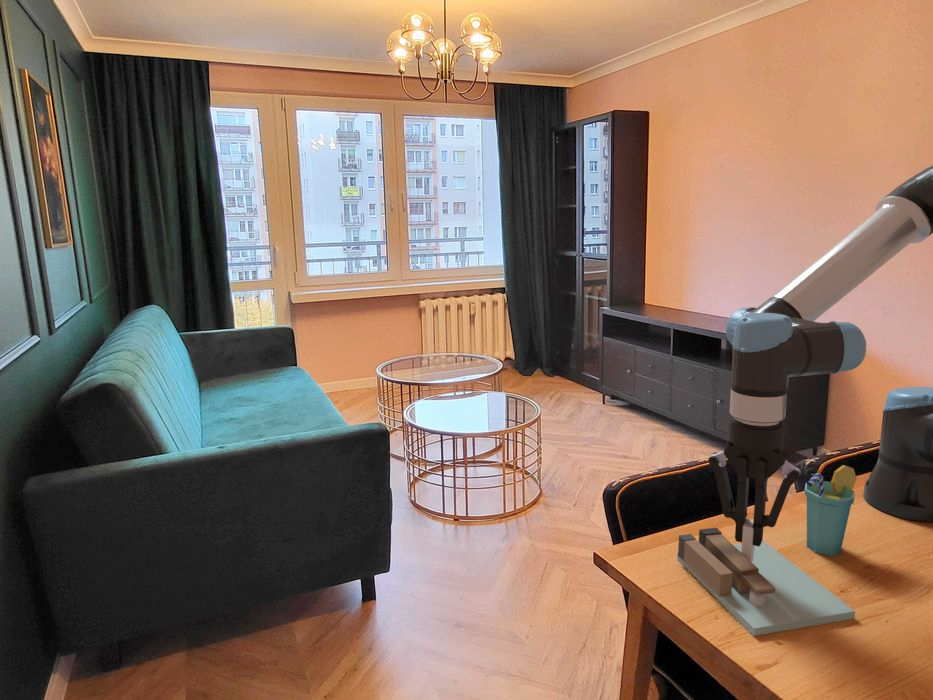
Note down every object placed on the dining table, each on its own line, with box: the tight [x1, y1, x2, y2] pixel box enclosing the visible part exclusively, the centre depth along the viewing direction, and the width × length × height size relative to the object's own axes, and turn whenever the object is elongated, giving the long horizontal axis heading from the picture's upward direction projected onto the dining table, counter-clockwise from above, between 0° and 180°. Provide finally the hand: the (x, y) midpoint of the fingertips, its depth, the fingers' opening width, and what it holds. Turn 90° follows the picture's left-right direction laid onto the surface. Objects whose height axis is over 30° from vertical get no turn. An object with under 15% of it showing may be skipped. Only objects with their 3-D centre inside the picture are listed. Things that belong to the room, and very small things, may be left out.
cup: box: [804, 464, 857, 557], centre depth 105 cm, size 14×8×15 cm, turn 127°
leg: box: [698, 527, 775, 595], centre depth 97 cm, size 16×3×4 cm, turn 8°
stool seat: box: [676, 533, 856, 637], centre depth 96 cm, size 16×20×5 cm
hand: (747, 561), depth 98 cm, fingers closed
